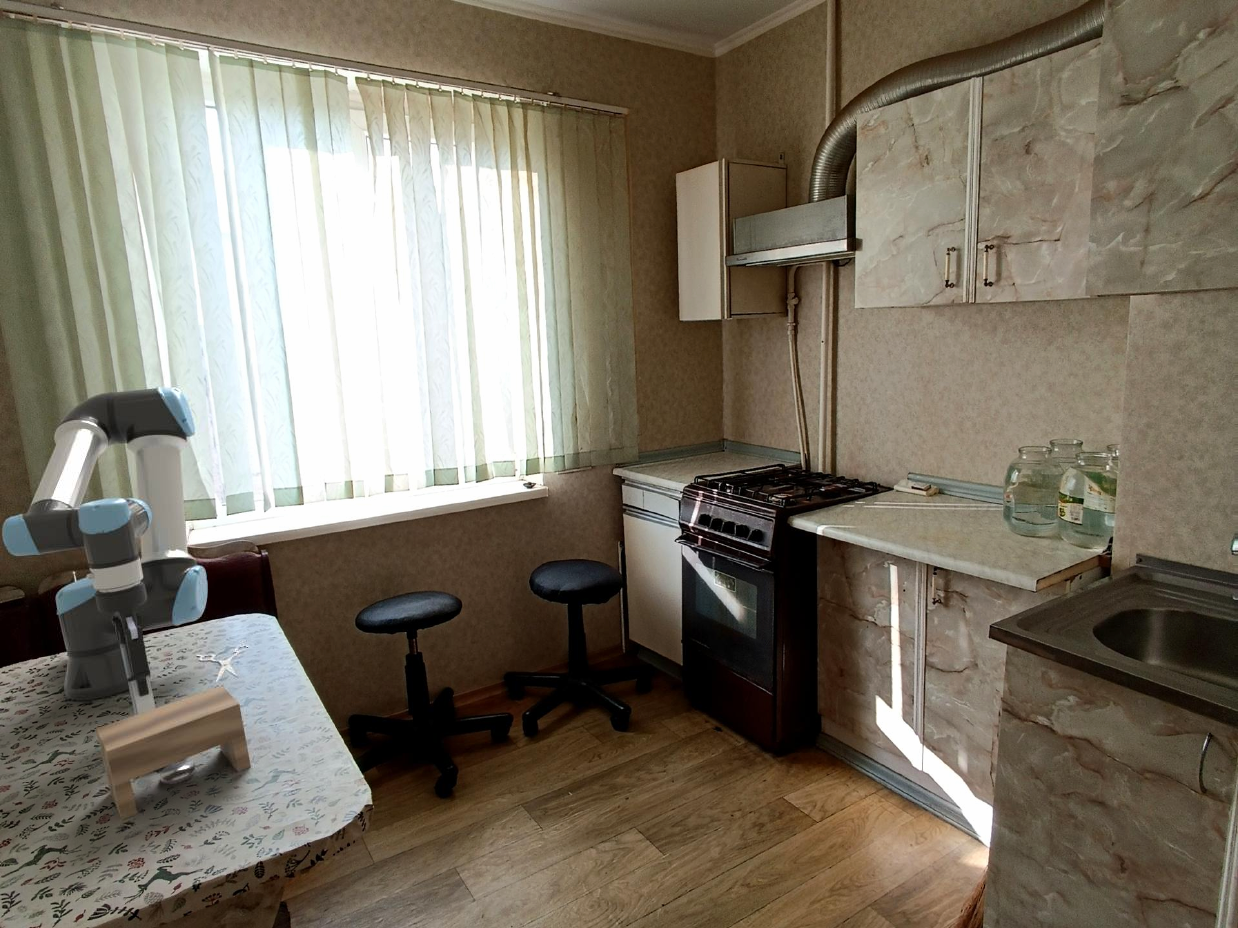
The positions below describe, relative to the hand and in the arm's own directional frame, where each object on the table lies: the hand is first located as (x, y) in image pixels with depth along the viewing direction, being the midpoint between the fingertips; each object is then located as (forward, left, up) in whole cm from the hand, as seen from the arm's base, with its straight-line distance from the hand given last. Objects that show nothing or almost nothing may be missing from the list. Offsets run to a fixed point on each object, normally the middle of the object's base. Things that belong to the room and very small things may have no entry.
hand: (144, 707), depth 139 cm
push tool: (+8, 0, -4) cm, 9 cm away
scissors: (-20, +18, -5) cm, 27 cm away
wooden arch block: (+25, 0, -4) cm, 26 cm away
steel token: (+23, 0, -4) cm, 24 cm away
